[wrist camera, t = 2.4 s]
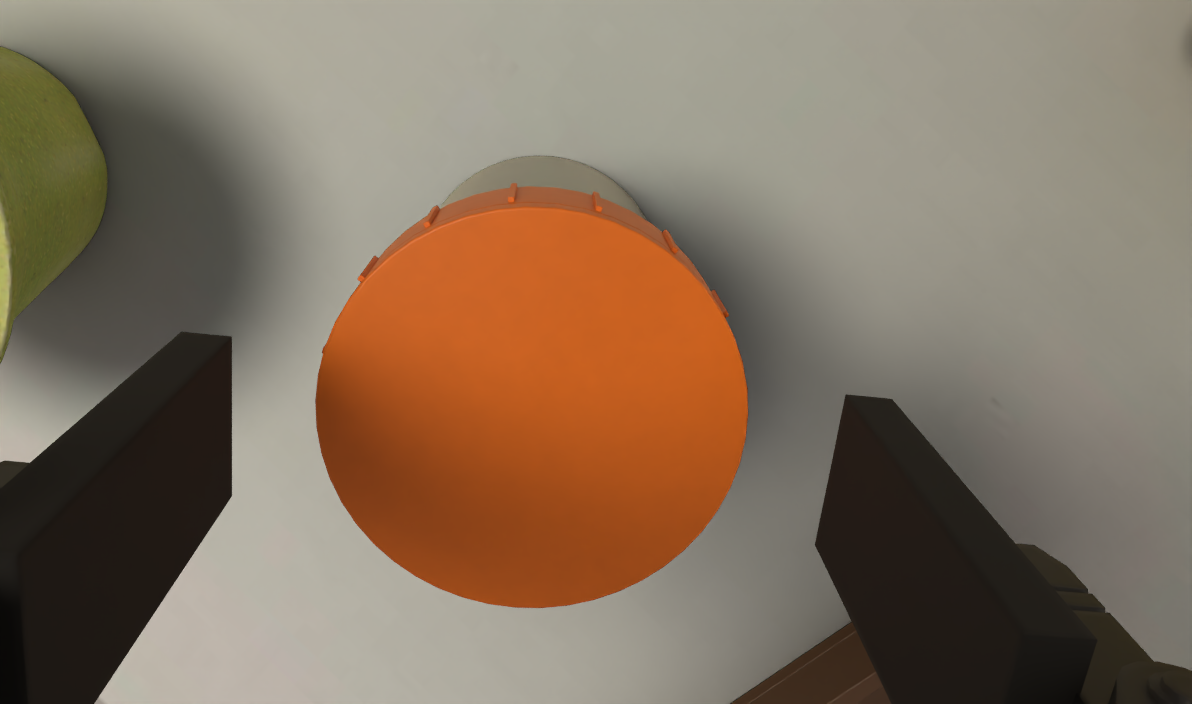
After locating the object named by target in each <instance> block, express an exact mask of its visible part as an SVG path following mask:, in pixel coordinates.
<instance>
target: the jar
mask: <svg viewBox="0 0 1192 704" xmlns="http://www.w3.org/2000/svg"><path fill="white" fill-rule="evenodd" d="M511 183H517V187H526V186H533V187H556V188H562V189H567V190H573V191H579V192H583V193H587V194H590V195H592V194H593V192H594V191H595V192H598V193H599V195H600V198H603V199H606V200H609V201H611V202H613V203H615V204H617V205H619V206H622V207H624V208H626V209H628V210H630V211H632V212H634V213H635V214H637V215H638V216H640V217H642V218H643V219H645V220H646V218H645V216H644V214H643V213H642V211H641V210H640V208H639V207H638V206H637V204H636V203H635V201H634V200H633V199H632V198H631V197H630V196H629V195H628V194H627V192H626V191H625V190H624V189H623V188H621V187H620V186H619V185H618V184H617V183H615V182H614V181H613V180H612V179H610V178H609V177H607V176H606V175H604V174H603V173H601V172H599V171H598V170H596V169H593V168H591V167H589V166H587V165H585V164H582V163H579V162H576V161H573V160H569V159H565V158H559V157H553V156H527V157H518V158H514V159H510V160H505V161H502V162H499V163H497V164H494V165H491V166H489V167H487V168H485V169H483V170H481V171H479V172H478V173H476V174H474V175H473V176H471V177H470V178H469V179H467V180H466V181H464V182H463V183H462V184H461V185H460V186H459V187H457V188H456V189H455V190H454V191H453V192H452V193H451V194H450V195H449V197H448V198H447V199H446V200H445V202H444V203H443V204H442V205H441V207H440V208H439V209H441V208H443V207H445V206H447V205H448V204H451V203H453V202H456V201H459V200H462V199H464V198H467V197H470V196H472V195H475V194H480V193H484V192H489V191H493V190H498V189H504V188H510V186H511ZM646 221H647V220H646Z"/></svg>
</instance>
